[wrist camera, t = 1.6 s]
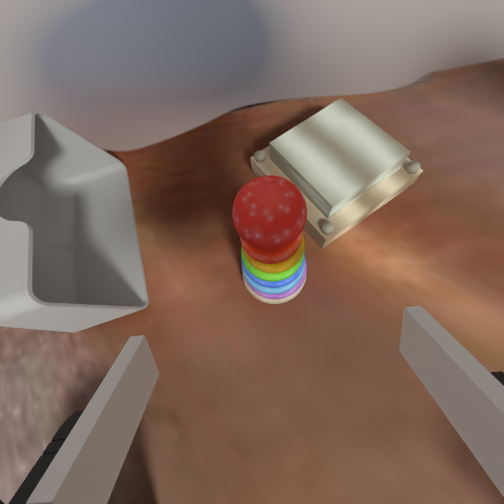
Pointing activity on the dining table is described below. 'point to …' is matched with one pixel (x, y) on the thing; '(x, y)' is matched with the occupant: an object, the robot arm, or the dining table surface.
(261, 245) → the stacking toy
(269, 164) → the plinth
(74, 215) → the tank
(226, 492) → the dining table surface
